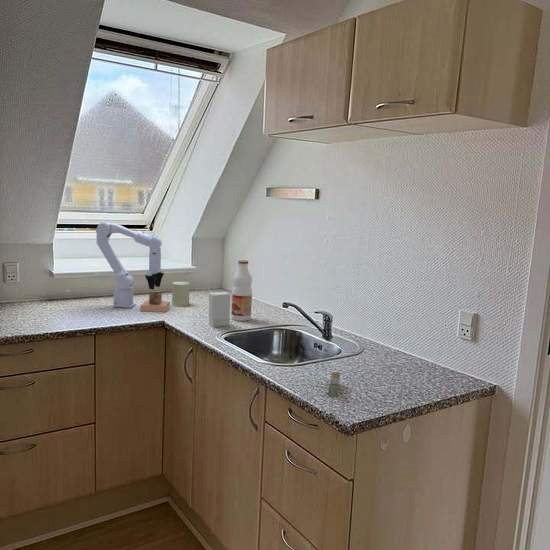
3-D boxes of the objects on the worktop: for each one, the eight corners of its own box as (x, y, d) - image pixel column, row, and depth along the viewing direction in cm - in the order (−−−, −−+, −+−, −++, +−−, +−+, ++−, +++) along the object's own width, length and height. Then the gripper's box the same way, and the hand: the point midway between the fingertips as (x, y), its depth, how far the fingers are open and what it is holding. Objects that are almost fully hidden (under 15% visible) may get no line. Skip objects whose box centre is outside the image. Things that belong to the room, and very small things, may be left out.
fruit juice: (252, 321, 245) (254, 262, 241) (232, 321, 243) (234, 261, 239) (249, 316, 254) (251, 259, 250) (230, 316, 253) (232, 259, 248)
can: (187, 306, 271) (188, 284, 269) (170, 305, 271) (170, 283, 269) (190, 303, 280) (191, 281, 278) (173, 302, 280) (174, 280, 278)
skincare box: (225, 323, 239) (226, 291, 237) (230, 326, 234) (231, 293, 232) (207, 324, 236) (208, 292, 234) (212, 327, 230) (213, 294, 228)
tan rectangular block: (140, 311, 256) (140, 305, 255) (146, 306, 268) (146, 300, 267) (164, 312, 256) (164, 306, 255) (169, 307, 268) (169, 301, 267)
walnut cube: (149, 304, 259) (149, 294, 258) (151, 302, 264) (151, 292, 263) (159, 304, 259) (159, 294, 258) (161, 302, 263) (161, 292, 263)
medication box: (337, 397, 155) (338, 385, 154) (328, 396, 155) (329, 383, 155) (339, 384, 167) (340, 372, 166) (330, 383, 167) (331, 371, 167)
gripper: (156, 263, 256) (156, 290, 258) (167, 260, 270) (167, 286, 272) (143, 262, 257) (143, 289, 259) (154, 259, 271) (154, 285, 273)
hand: (154, 287), depth 265 cm, fingers open, 7 cm apart
